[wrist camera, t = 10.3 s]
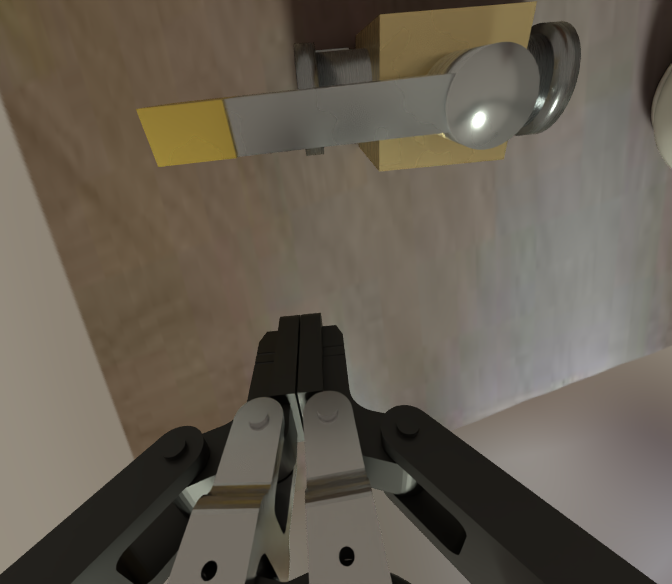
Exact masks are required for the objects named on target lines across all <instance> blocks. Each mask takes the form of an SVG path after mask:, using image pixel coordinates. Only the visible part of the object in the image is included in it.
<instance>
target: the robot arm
mask: <svg viewBox="0 0 672 584" xmlns="http://www.w3.org/2000/svg"><path fill="white" fill-rule="evenodd" d="M302 441H304V443H305V461H306V478H307V488H306V491H305V509H306V529H307V549H308V569H309V572H308V573H306V574H304V575H302V576H300V577H297V578H295V579H293V580H291V581H289V570H290V549H289V535H290V525H291V517H292V508H293V499H294V490H295V481H296V473H297V461H296V459H297V442H302ZM371 488H375V489H379V490H383V491H384V493H385V494H386V496H387V497H388V498H389V499H390V500H391V501H392V502H393V503H394V504H395V505H396V506H397V507H398V508H399V509H400V510H401V511H402V513H404V515H405V516H406V517H407V518H408V519H409V520H410V521H411V522H412V523H413V524H414V525H415V526H416V527H417V528H418V529H419V530H420V531H421V532H422V533H423V534H424V535H425V536H426V537H427V538H428V539H429V540H430V542H432V544H433V545H434V546H435V547H436V548H437V549H438V550H439V551H440V552H441V553H442V554H443V555H444V556H445V557H446V558H447V559H448V560H449V561H450V562H451V563H452V564H453V565H454V566H455V567H456V568H457V570H458V571H459V572H460V573H461V574H462V575H463V576H464V577H465V578H466V579H467V580H468V581H469V582H470V583H471V584H657V583H655V582H654V581H653V580H651V579H650V578H649V577H647V576H646V575H644V574H643V573H642V572H640V571H639V570H638V569H636V568H635V567H634V566H632V565H631V564H630V563H628V562H627V561H626V560H624V559H623V558H621V557H620V556H619V555H617V554H616V553H615V552H613V551H612V550H610V549H609V548H608V547H607V546H605V545H604V544H602V543H601V542H600V541H598V540H597V539H596V538H594V537H593V536H592V535H590V534H588V532H586V531H585V530H583V529H582V528H581V527H579V526H578V525H577V524H575V523H574V522H573V521H571V520H570V519H568V518H567V517H566V516H564V515H563V514H562V513H560V512H559V511H558V510H556V509H555V508H553V507H552V506H551V505H550V504H548V503H547V502H545V501H544V500H543V499H541V498H540V497H538V496H537V495H536V494H535V493H533V492H532V491H531V490H529V489H528V488H526V487H525V486H524V485H522V484H521V483H520V482H518V481H517V480H516V479H514V478H513V477H511V476H510V475H509V474H507V473H506V472H505V471H503V470H502V469H501V468H499V467H498V466H497V465H495V464H494V463H493V462H491V461H490V460H488V459H487V458H486V457H484V456H483V455H482V454H480V453H479V452H478V451H476V450H475V449H474V448H472V447H471V446H469V445H468V444H467V443H465V442H464V441H463V440H461V439H460V438H459V437H457V436H456V435H454V434H453V433H452V432H451V431H449V430H448V429H446V428H445V427H444V426H442V425H441V424H440V423H438V422H437V421H436V420H434V419H433V418H432V417H430V416H429V415H427V414H426V413H425V412H423V411H422V410H420V409H418V408H416V407H413V406H408V405H400V406H396V407H393V408H391V409H390V410H388V411H387V412H386V413H380V412H376V411H371V410H368V409H365V408H363V407H361V406H360V405H359V404H357V403H356V402H355V401H354V400H353V398H352V396H351V394H350V390H349V383H348V375H347V366H346V358H345V349H344V341H343V334H342V332H341V331H340V330H339V329H338V327H337V326H336V325H332V326H322V318H321V313H314V314H304V315H301V316H300V315H294V316H284V317H280V320H279V327H278V331H271V332H267V333H266V334H265V335H264V337H263V338H262V339H261V341H260V342H259V346H258V351H257V356H256V361H255V366H254V371H253V376H252V380H251V385H250V390H249V395H248V400H247V403H246V404H244V405H243V406H242V407H241V408H240V409H239V410H238V412H237V413H236V415H235V417H234V420H232V421H231V422H229V423H227V424H226V425H223V426H221V427H219V428H216V429H213V430H211V431H208V432H206V433H203V434H202V433H201V431H200V430H199V429H197V428H195V427H192V426H182V427H178V428H175V429H173V430H171V431H169V432H167V433H166V434H164V435H163V436H162V437H161V438H159V439H158V440H157V441H156V442H155V443H154V444H152V445H151V446H150V447H149V448H148V449H147V450H145V451H144V452H143V453H142V454H141V455H140V456H138V457H137V458H136V459H135V460H134V461H133V462H131V463H130V464H129V465H128V466H127V467H126V468H124V469H123V470H122V471H121V472H120V473H119V474H117V475H116V476H115V477H114V478H113V479H112V480H110V481H109V482H108V483H107V484H106V485H105V486H103V487H102V488H101V489H100V490H99V491H97V492H96V493H95V494H94V495H93V496H92V497H90V498H89V499H88V500H87V501H86V502H85V503H83V504H82V505H81V506H80V507H79V508H78V509H76V510H75V511H74V512H73V513H72V514H71V515H70V516H68V517H67V518H66V519H65V520H64V521H63V522H61V523H60V524H59V525H58V526H57V527H55V528H54V529H53V530H52V531H51V532H50V533H48V534H47V535H46V536H45V537H44V538H43V539H41V540H40V541H39V542H38V543H37V544H36V545H34V546H33V547H32V548H31V549H30V550H29V551H27V552H26V553H25V554H24V555H23V556H22V557H20V558H19V559H18V560H17V561H16V562H15V563H13V564H12V565H11V566H10V567H9V568H7V569H6V570H5V571H4V572H3V573H2V574H0V584H163V583H164V582H165V581H166V580H167V579H168V577H169V579H168V582H167V584H411V583H409V582H408V581H406V580H404V579H403V578H401V577H399V576H397V575H395V574H392V573H390V572H389V567H388V562H387V558H386V553H385V548H384V544H383V539H382V535H381V530H380V525H379V521H378V516H377V512H376V507H375V502H374V498H373V493H372V489H371Z"/></svg>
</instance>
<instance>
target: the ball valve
mask: <svg viewBox="0 0 672 584" xmlns="http://www.w3.org/2000/svg"><path fill="white" fill-rule="evenodd" d="M536 3H537V1H536V2H524V3H512V4H500V5H488V6H476V7H464V8H452V9H440V10H428V11H416V12H404V13H392V14H380V15H379V16H378V17H376V18H375V19H374V20H373V21H372V22H371V23H370V24H369V25H367V26H366V27H365V28H364V29H363V30H362V31H361V32H360V33H358V34H357V35H356V49H349V48H339V49H327V50H316V51H315V46H314V42H313V43H301V44H294V56H295V66H296V75H297V84H298V89H305V88H314V87H323V86H332V85H341V84H350V83H359V82H368V81H377V80H386V79H395V78H404V77H412V76H421V75H427V74H428V72H429V71H430V69H431V68H432V67H433V66H434V65H435V63H436V62H438V61H439V60H440V59H441V58H443V57H444V56H445V55H447V54H449V53H452V52H455V51H459V50H464V49H469V48H474V47H479V46H484V45H489V44H494V43H499V42H513V43H517V44H520V45H522V46H523V47H525V48H526V49H527V50H528V51H530V53H531V54H532V55H533V57H534V59H535V61H536V63H537V66H538V70H539V77H540V85H539V93H538V97H537V101H536V104H535V106H534V109H533V111H532V113H531V115H530V117H529V118H528V120H527V121H526V123H525V124H524V125H523V127H522V128H521V129H520V130H519V131H518V132H517V133H516V134H515V135H516V136H520V135H530V134H538V133H541V132H543V131H545V130H547V129H548V128H549V127H551V126H552V125H553V124H554V123H555V122H556V121H557V119H558V118H559V117H560V115H561V114H562V113H563V111H564V109H565V108H566V106H567V104H568V102H569V100H570V98H571V96H572V93H573V91H574V88H575V85H576V82H577V78H578V74H579V68H580V60H581V48H580V41H579V37H578V34H577V32H576V30H575V28H574V27H573V26H572V25H571V24H570V23H568V22H564V21H559V22H547V23H539V24H536V25H534V26H532V22H533V18H534V13H535V8H536ZM353 144H356V143H353ZM344 145H346V144H344ZM506 146H507V141H506V142H505V143H503V144H501V145H499V146H497V147H494V148H491V149H485V150H477V149H472V148H469V147H466V146H464V145H461V144H459V143H456V142H454V141H451V140H449V139H446V138H444V137H441V136H439V135H437V134H431V135H422V136H414V137H405V138H396V139H388V140H379V141H370V142H361V143H359V148H360V149H361V150H362V151H363V152H364V154H365V155H366V156H367V157H368V158H369V160H370V161H371V162H372V163H373V164H374V166H375V167H376V168H377V169H378V170H379V171H388V170H398V169H409V168H419V167H429V166H439V165H450V164H460V163H470V162H481V161H491V160H501V159H504V155H505V151H506ZM305 150H306V156H310V155H320V154H324V147H318V148H309V149H305Z"/></svg>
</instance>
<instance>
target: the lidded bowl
mask: <svg viewBox="0 0 672 584" xmlns="http://www.w3.org/2000/svg"><path fill="white" fill-rule="evenodd" d="M651 123H652V126H653V129H654V137H655V143H656V146H657V149H658V151H659V153H660V155H661V157H662V158H663V160H664V161H665V163H666V164H667V165H668V166H669V167H670V168H671V169H672V62H671V64H670V65H669V67H668V68H667V70H666V71H665V73H664V75H663V76H662V78H661V80H660V82H659V84H658V86H657V89H656V92H655V94H654V97H653V101H652V106H651Z"/></svg>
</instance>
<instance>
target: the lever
mask: <svg viewBox="0 0 672 584" xmlns="http://www.w3.org/2000/svg"><path fill="white" fill-rule="evenodd" d="M539 85H540V77H539V70H538V66H537V63H536V61H535V59H534V57H533V55H532V54H531V53H530V51H528V50H527V49H526V48H525V47H523V46H522V45H520V44H517V43H513V42H499V43H494V44H489V45H484V46H479V47H474V48H469V49H464V50H459V51H455V52H452V53H449V54H447V55H445V56H444V57H443V58H441V59H440V60H439V61H438V62H436V63H435V65H434V66H433V67H432V68H431V69H430V71H429V72H428V74H427V75H421V76H412V77H404V78H395V79H386V80H377V81H368V82H359V83H350V84H341V85H332V86H323V87H314V88H305V89H296V90H287V91H279V92H270V93H261V94H252V95H243V96H233V97H224V98H215V99H206V100H197V101H188V102H180V103H171V104H165V105H158V106H152V107H146V108H140V109H136V110H137V113H138V115H139V118H140V121H141V123H142V126H143V128H144V131H145V133H146V136H147V139H148V141H149V144H150V146H151V149H152V152H153V154H154V157H155V159H156V162H157V164H158V167H162V166H171V165H179V164H188V163H197V162H205V161H214V160H223V159H231V158H237V157H240V156H249V155H257V154H266V153H275V152H283V151H292V150H301V149H309V148H318V147H327V146H335V145H344V144H353V143H361V142H370V141H379V140H388V139H396V138H405V137H414V136H422V135H431V134H437V135H439V136H441V137H444V138H446V139H449V140H451V141H454V142H456V143H459V144H461V145H464V146H466V147H469V148H472V149H477V150H485V149H491V148H494V147H497V146H499V145H501V144H503V143H505V142H506V141H508V140H509V139H510V138H512V137H513V136H514V135H515V134H516V133H517V132H518V131H519V130H520V129H521V128H522V127H523V125H524V124H525V123H526V121H527V120H528V118H529V117H530V115H531V113H532V111H533V109H534V106H535V104H536V101H537V97H538V93H539Z"/></svg>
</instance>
